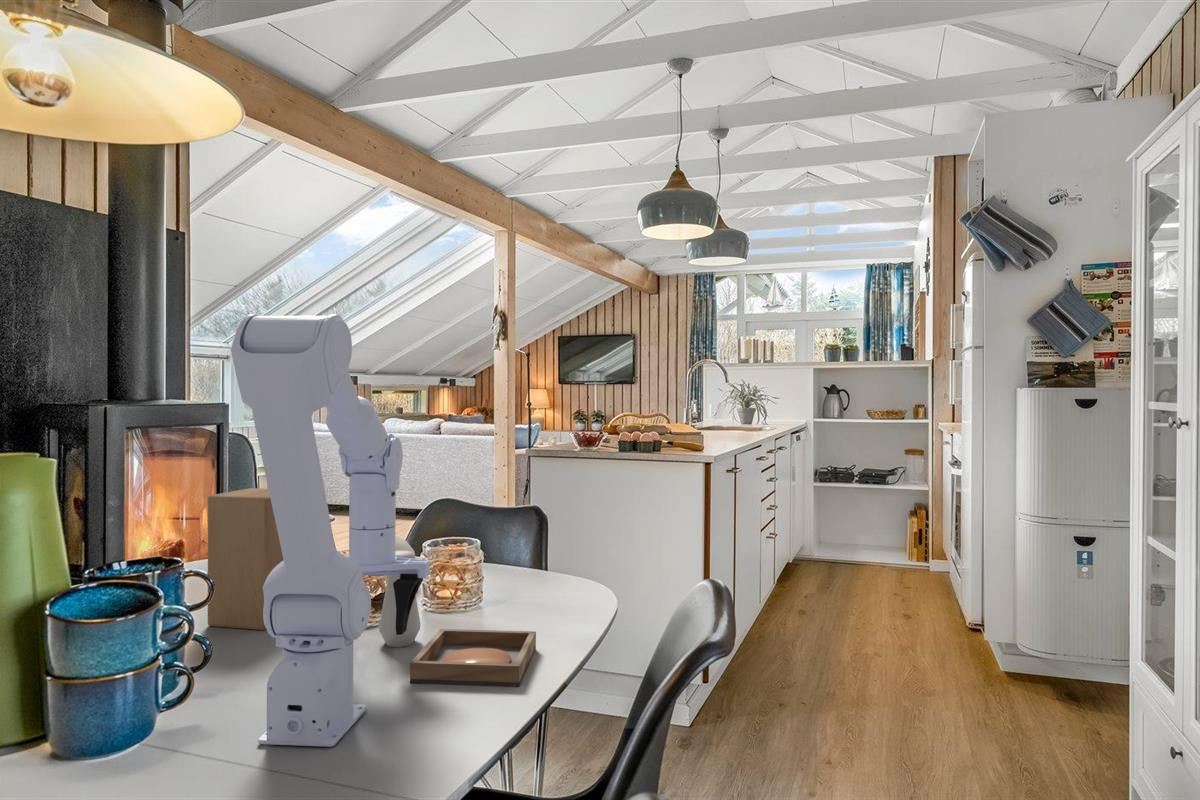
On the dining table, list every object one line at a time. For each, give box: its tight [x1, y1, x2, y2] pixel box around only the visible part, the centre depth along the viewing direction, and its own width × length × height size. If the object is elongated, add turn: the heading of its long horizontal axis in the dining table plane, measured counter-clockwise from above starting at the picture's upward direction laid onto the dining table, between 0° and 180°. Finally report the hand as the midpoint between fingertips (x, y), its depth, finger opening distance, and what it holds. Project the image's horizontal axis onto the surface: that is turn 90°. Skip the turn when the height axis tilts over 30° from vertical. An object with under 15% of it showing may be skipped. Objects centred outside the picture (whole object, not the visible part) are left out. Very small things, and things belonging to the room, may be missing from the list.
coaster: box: [442, 648, 511, 664], centre depth 101 cm, size 9×9×1 cm
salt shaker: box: [378, 551, 421, 648], centre depth 109 cm, size 6×6×13 cm
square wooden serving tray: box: [409, 628, 537, 688], centre depth 101 cm, size 14×14×2 cm
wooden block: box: [207, 487, 284, 631], centre depth 120 cm, size 10×10×20 cm
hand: (372, 631), depth 98 cm, fingers open, 7 cm apart
